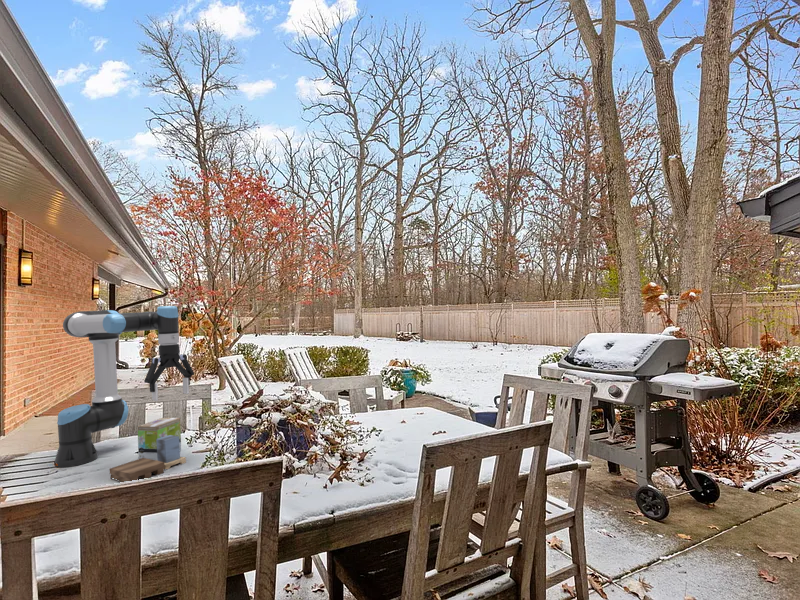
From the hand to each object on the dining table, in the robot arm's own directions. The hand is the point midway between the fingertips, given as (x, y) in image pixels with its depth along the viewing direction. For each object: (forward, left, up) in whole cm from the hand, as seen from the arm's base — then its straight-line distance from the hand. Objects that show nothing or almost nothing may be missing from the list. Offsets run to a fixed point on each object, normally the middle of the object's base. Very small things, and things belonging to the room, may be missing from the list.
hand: (171, 396), depth 187 cm
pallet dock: (-4, -13, -28) cm, 31 cm away
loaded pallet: (-4, 0, -28) cm, 28 cm away
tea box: (-20, +7, -28) cm, 35 cm away
